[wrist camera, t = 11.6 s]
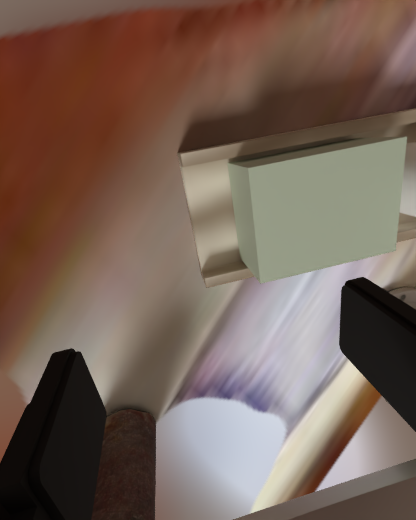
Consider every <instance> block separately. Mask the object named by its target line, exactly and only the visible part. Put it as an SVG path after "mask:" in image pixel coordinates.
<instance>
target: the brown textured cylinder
mask: <svg viewBox="0 0 416 520" xmlns="http://www.w3.org/2000/svg"><path fill="white" fill-rule="evenodd" d="M155 466H156V423H155V420H154V418H153V416H152V415H151V414H150V413H147V412H141V411H136V410H133V409H126V410H120V411H118V412H116V413H113V414H111V415H110V416H108V417H107V418H106V424H105V431H104V437H103V444H102V451H101V458H100V464H99V471H98V478H97V485H96V492H95V498H94V505H93V512H92V519H91V520H155V485H156V481H155V470H156V469H155V468H156V467H155Z"/></svg>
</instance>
